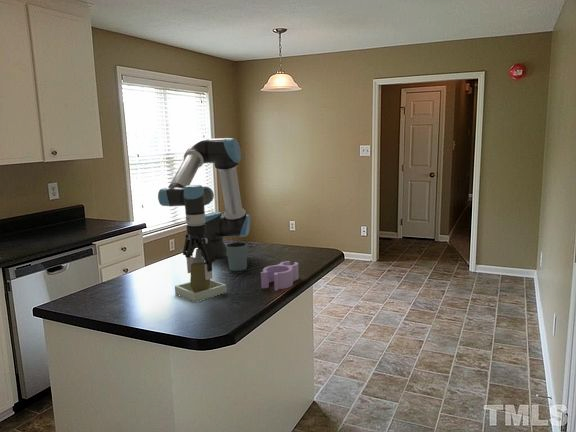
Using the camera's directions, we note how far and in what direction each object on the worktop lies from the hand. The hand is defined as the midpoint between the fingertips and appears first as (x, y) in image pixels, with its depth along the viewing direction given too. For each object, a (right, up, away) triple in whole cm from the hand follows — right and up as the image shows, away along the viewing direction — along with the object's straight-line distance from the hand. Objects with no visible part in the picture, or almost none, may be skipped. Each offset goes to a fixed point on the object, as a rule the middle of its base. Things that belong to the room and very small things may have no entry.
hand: (199, 275), depth 187 cm
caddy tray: (0, -7, +1) cm, 8 cm away
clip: (+33, -5, +12) cm, 35 cm away
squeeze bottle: (0, -7, +1) cm, 7 cm away
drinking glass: (+12, -1, +36) cm, 37 cm away
